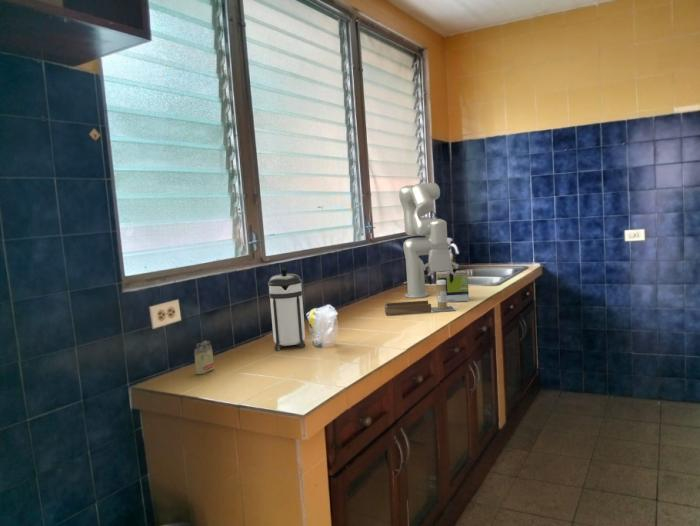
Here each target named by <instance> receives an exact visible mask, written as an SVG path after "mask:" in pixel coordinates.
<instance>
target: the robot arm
mask: <svg viewBox="0 0 700 526" xmlns="http://www.w3.org/2000/svg"><path fill="white" fill-rule="evenodd" d="M440 189H441V188H440V186H439V185H438V184H437V183H436V182H425V183H421V182H420V183H416V184H413V185H410V184H409V185H405V186H402V187H401V188H400V189H399V192H398V193H399V194H398V195H399V201H400V204H401V207H402V210H403V220H404V232H405V234H406V235H407V236H421V237H412V238H411V237H410V238H408V239H406V240H405V241H403V246H402V247H403V253H404V258H405V269H406V270H405V271H406V284H407V286H406V287H407V293H405V294H404V297H405V298H408V299H419V298H426V297H428V296H429V293H428V292H426V285H425V284H426V282H425V274H426V275H427V283H429V285H432V281H433V280H432V273H434V272H435V273H436V272H448V271H449V272H450V274H449V278H450V283H452V281H453V274H454V273H455V272H456V271H458V268H459V265H460V264H458V263H456V262H454V261H452V260H451V259H452V258H451V252H450V249H449V247H451V246H452V244H451V243H448V228H447V225H448V223H447V221H446V220H444V219H442V218H432V217H429V216H426V215H428V214H429V213H431V211H433V209H434V207H435V206H434V204H435V203H434V202H433V201H435V200H438V199H439V198H440V195H441V190H440ZM420 256H428V262H427V263H425V264H424V261H423V260H422V259H421V258H420ZM452 266H454V268H453V269H452ZM426 268H428V271H427V269H426Z"/></svg>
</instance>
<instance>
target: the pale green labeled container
mask: <svg viewBox="0 0 700 526" xmlns="http://www.w3.org/2000/svg"><path fill="white" fill-rule="evenodd" d="M212 347H213V346H212V345H211V341H210V340H206V339H205V340H204V341H202V342H200V343H199V342H198V343H196V348H194V365H195V373H196V375H203V374H206V373H209V372H210V371H213V370H215V365H214V355H213V353H214V352H213V348H212Z"/></svg>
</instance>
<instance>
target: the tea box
mask: <svg viewBox="0 0 700 526" xmlns="http://www.w3.org/2000/svg"><path fill="white" fill-rule="evenodd" d="M435 274H436V275H435V276H436V281H437V280H446V296H447V303H454V302H469V301H470V297H469V295H470V294H469V282H468V272H467V271H466V270H464V269H463V270H457V271H456V272H455V273H454V274H453V281H452V283H450V278H449V274H450V272H449V271H438V272H435Z"/></svg>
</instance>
